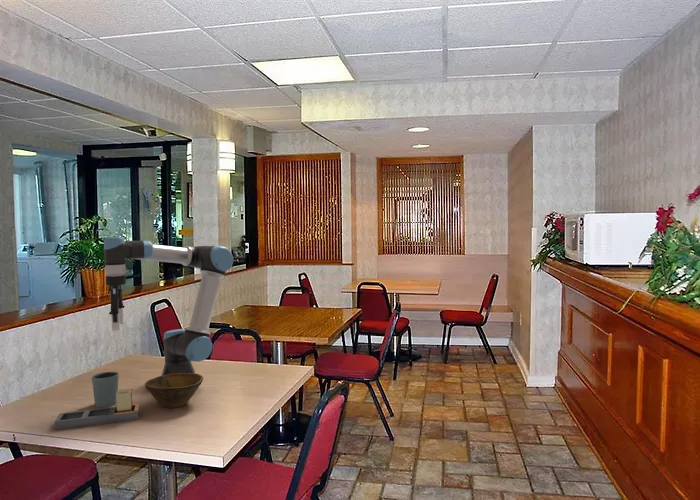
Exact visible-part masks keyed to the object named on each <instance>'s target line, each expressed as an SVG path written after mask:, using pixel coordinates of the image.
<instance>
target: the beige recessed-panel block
mask: <svg viewBox="0 0 700 500" xmlns="http://www.w3.org/2000/svg"><path fill="white" fill-rule="evenodd" d="M132 390H133V389H132V388H121V389H120V388H119V389H118V390H117V393H116V402H117V404H116V406H117V413H120V412H129V411H133V408H132V404H133V394H132V393H133V391H132Z"/></svg>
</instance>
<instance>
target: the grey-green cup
mask: <svg viewBox="0 0 700 500" xmlns="http://www.w3.org/2000/svg"><path fill="white" fill-rule="evenodd" d="M119 375H120V373H119V372H118V371H117V372H116V371H103V372H98V373H95V374H93V375H91V383H92V391H93V398H94V399H93V401H94V406H95V407H97V408H109V407H113V406H115V405H117V402H116V393H117V390H119V377H120V376H119Z"/></svg>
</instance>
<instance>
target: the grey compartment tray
mask: <svg viewBox="0 0 700 500" xmlns="http://www.w3.org/2000/svg"><path fill="white" fill-rule="evenodd" d="M132 408H133V411H129V412H120V413H117V405H116V406H109V407H101V408H95V409H85V410H78V411H69V412H61V413H60V412H59V414H58V415H57V417H56V419H55V420H54V431H57V430H64V429H72V428H73V429H74V428H81V427H82V426H83V427H89V426H90V425H91V426H97V424H99V425H105V424H106V423H107V424H114V422H115V423H122V422H129V421H137V420H138V421H139V419H140V415H139V414H141V404H140V403H138V404H136V403H132ZM83 427H82V428H83Z"/></svg>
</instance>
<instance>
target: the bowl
mask: <svg viewBox="0 0 700 500" xmlns="http://www.w3.org/2000/svg"><path fill="white" fill-rule="evenodd" d="M203 381H204V376H203V375H201V374H199V373H196V372H195V373H173V374H167V375H163V376H162V375H159V376H156V377H154V378H151V379H149V380H147V381H146V382H145V383H144V386H145V388H146V390H147V391H148V393H150V394H151V396H152V397H153V398H154V400H156V401H157V402H158V404H160V405H161V406H162V408H166V409H167V408H168V409H170V408H171V409H173V408H179V407H180V408H181V407H182V406H185V405H186V404H187V403H189V401H190V399H192V397H193V396H194V394H195V393H196V391H197V390H198V388H199V387H201V386H202V383H203Z"/></svg>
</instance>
